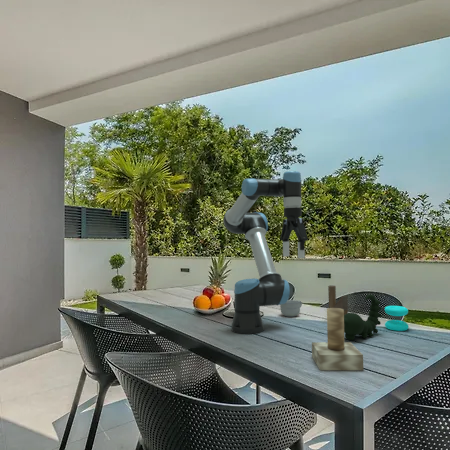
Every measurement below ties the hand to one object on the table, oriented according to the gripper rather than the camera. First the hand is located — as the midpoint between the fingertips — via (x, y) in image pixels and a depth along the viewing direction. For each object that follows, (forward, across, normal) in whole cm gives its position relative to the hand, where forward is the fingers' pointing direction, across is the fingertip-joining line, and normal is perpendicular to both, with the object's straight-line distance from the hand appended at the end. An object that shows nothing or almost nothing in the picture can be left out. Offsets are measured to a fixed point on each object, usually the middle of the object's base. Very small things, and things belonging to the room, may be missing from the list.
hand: (293, 257), depth 161 cm
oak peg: (+34, -31, +1) cm, 46 cm away
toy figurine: (+35, -8, -27) cm, 45 cm away
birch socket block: (+35, -31, +1) cm, 47 cm away
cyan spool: (+35, -2, -52) cm, 62 cm away
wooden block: (+35, +18, -33) cm, 51 cm away
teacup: (+35, +41, -20) cm, 57 cm away
